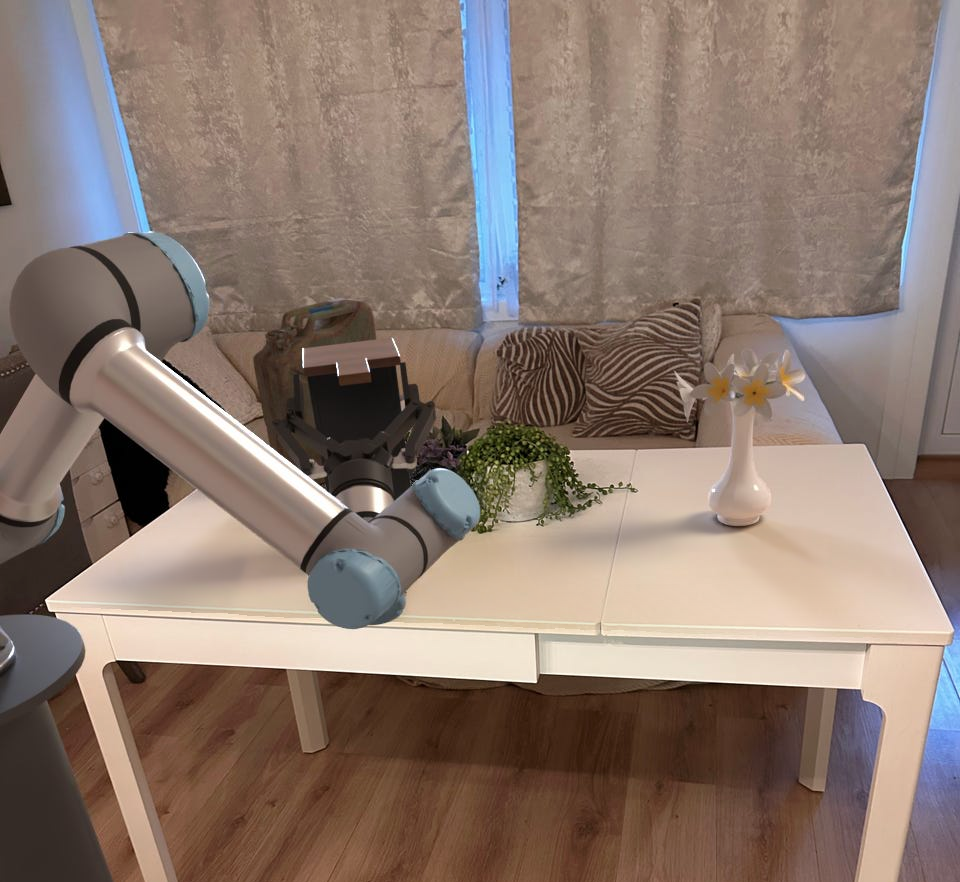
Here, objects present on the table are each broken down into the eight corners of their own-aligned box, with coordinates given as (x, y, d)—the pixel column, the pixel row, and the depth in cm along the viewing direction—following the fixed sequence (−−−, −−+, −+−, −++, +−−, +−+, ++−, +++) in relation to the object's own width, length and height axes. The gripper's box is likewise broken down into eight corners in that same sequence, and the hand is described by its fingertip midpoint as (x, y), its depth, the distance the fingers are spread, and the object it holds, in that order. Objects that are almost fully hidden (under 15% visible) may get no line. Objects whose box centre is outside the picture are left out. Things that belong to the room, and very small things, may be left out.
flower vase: (664, 511, 150) (665, 351, 138) (778, 498, 150) (789, 337, 138) (687, 543, 138) (690, 371, 126) (810, 529, 139) (825, 356, 127)
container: (367, 450, 192) (344, 295, 177) (398, 458, 185) (376, 298, 171) (272, 482, 179) (239, 318, 165) (302, 493, 172) (270, 323, 158)
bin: (420, 561, 141) (395, 365, 127) (340, 571, 141) (306, 375, 127) (416, 531, 152) (393, 346, 138) (342, 540, 151) (310, 356, 137)
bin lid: (407, 383, 121) (405, 367, 120) (305, 396, 120) (302, 380, 119) (394, 351, 139) (392, 336, 138) (305, 362, 137) (302, 347, 136)
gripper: (263, 535, 114) (260, 408, 125) (468, 511, 115) (448, 387, 126) (248, 495, 107) (247, 364, 118) (466, 469, 109) (445, 342, 119)
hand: (350, 376), depth 122 cm, fingers open, 13 cm apart
